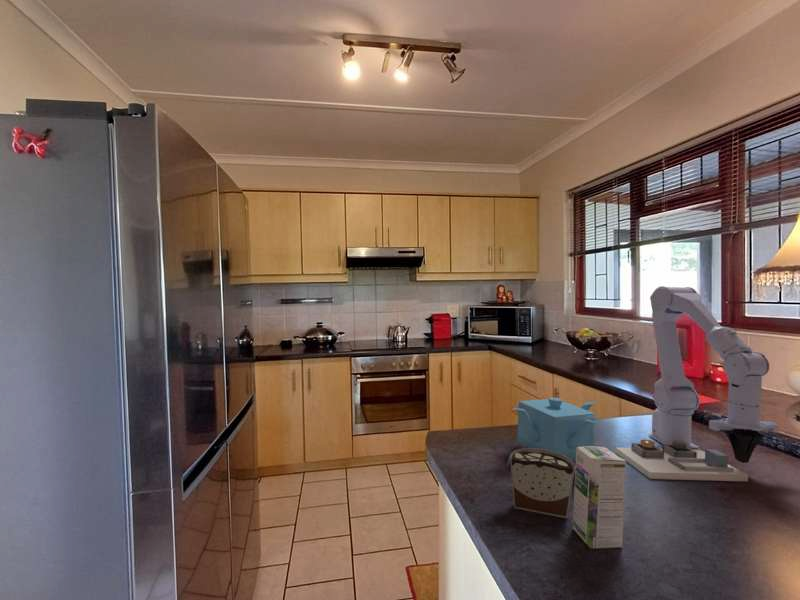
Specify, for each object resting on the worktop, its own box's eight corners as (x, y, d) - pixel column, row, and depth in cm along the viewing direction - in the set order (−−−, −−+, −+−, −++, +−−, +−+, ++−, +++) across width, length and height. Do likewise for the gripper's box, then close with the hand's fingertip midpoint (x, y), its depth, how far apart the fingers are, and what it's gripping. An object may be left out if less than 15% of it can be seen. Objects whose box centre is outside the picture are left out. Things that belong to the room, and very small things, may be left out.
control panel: (615, 453, 101) (615, 441, 101) (699, 455, 101) (700, 443, 101) (649, 478, 87) (650, 465, 87) (747, 481, 87) (748, 467, 87)
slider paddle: (704, 461, 93) (705, 449, 93) (714, 461, 93) (715, 449, 93) (717, 468, 89) (717, 455, 89) (727, 468, 89) (728, 455, 89)
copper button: (637, 445, 99) (638, 439, 99) (649, 445, 99) (649, 439, 99) (645, 450, 96) (645, 443, 96) (657, 450, 96) (657, 444, 96)
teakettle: (522, 438, 110) (523, 386, 110) (596, 451, 102) (597, 395, 102) (509, 463, 94) (511, 402, 93) (596, 482, 85) (598, 415, 85)
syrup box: (571, 528, 68) (573, 445, 68) (603, 527, 68) (606, 445, 68) (589, 549, 62) (592, 459, 62) (624, 548, 63) (627, 459, 62)
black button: (669, 446, 99) (669, 440, 99) (680, 446, 99) (681, 440, 99) (677, 451, 96) (677, 444, 96) (689, 451, 96) (689, 445, 96)
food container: (573, 503, 76) (574, 452, 76) (576, 520, 70) (578, 465, 70) (507, 491, 80) (509, 443, 80) (505, 506, 74) (507, 454, 74)
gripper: (727, 407, 87) (725, 467, 87) (792, 409, 87) (789, 469, 87) (702, 399, 94) (700, 454, 94) (762, 400, 94) (760, 456, 94)
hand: (741, 461), depth 91 cm, fingers closed
